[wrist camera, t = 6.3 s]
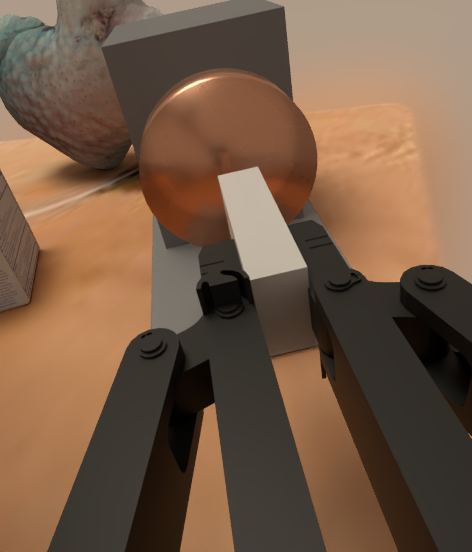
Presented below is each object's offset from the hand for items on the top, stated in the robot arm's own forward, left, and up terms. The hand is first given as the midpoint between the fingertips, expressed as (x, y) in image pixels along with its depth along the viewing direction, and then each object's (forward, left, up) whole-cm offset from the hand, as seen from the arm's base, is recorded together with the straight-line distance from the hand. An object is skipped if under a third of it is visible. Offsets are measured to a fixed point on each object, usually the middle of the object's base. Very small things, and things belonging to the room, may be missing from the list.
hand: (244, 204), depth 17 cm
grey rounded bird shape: (+24, +26, -10) cm, 37 cm away
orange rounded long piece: (+9, +5, -4) cm, 11 cm away
